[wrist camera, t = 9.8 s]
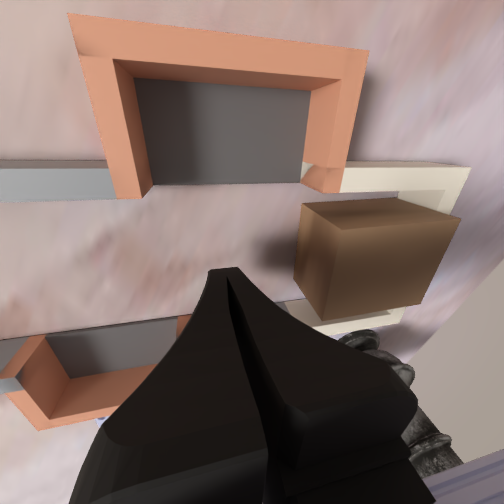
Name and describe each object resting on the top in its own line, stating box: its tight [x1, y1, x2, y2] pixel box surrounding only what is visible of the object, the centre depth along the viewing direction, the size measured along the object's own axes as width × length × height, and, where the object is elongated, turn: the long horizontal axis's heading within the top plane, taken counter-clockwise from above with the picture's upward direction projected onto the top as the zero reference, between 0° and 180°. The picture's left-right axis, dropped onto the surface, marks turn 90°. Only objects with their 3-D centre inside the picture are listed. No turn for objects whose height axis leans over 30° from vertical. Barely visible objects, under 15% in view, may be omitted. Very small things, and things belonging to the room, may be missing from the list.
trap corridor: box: [0, 13, 472, 431], centre depth 11 cm, size 17×28×2 cm, turn 88°
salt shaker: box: [338, 330, 464, 479], centre depth 15 cm, size 6×6×12 cm
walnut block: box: [293, 197, 461, 322], centre depth 12 cm, size 5×6×4 cm
